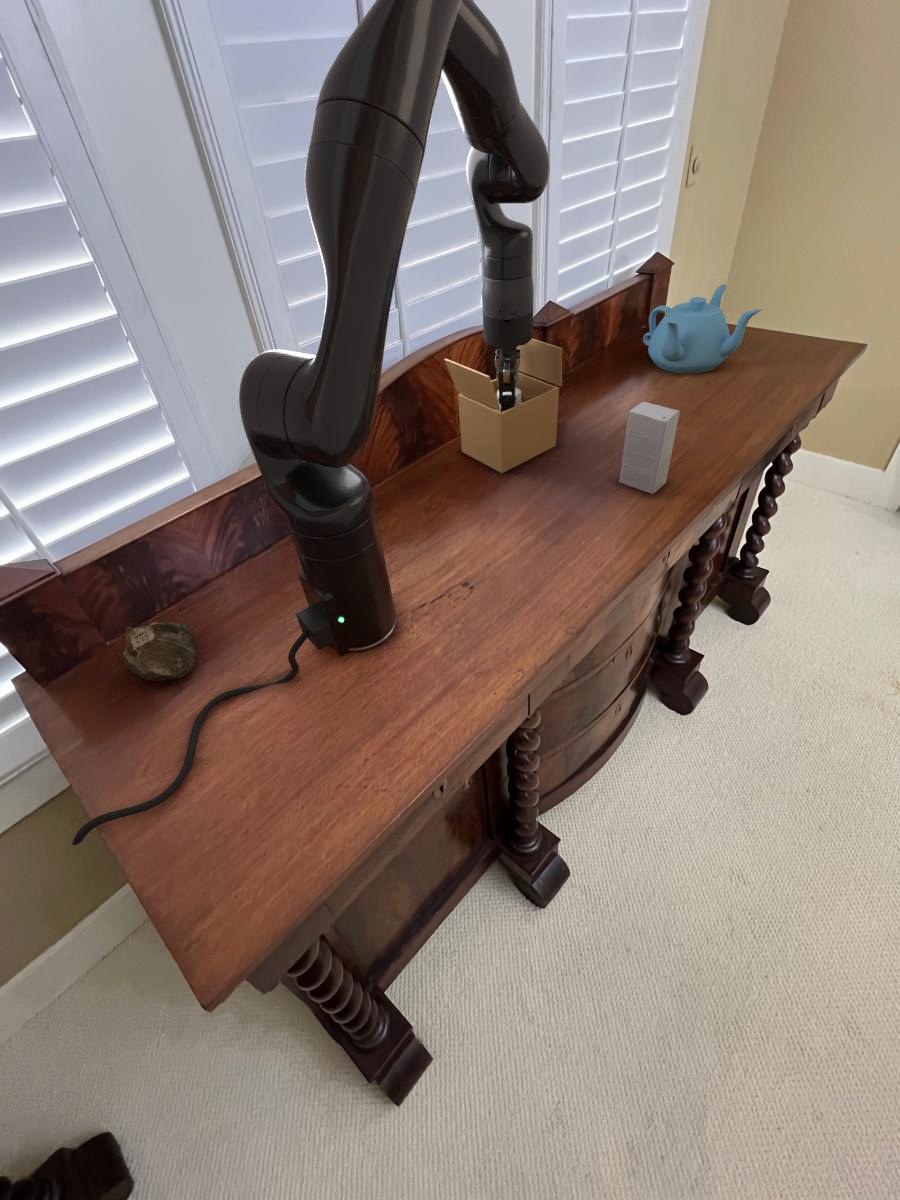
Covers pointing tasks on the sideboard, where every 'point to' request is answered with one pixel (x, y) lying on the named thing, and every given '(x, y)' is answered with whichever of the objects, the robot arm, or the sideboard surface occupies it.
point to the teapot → (693, 335)
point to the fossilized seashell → (160, 651)
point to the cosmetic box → (648, 446)
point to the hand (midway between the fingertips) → (508, 415)
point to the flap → (473, 384)
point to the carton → (516, 413)
